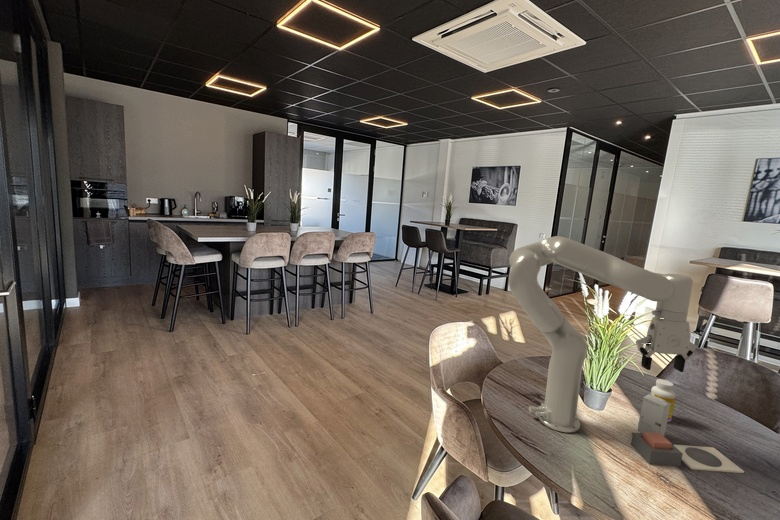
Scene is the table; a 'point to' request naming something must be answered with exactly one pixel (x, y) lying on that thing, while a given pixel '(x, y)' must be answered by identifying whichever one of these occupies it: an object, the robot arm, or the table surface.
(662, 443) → the button
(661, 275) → the robot arm
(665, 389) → the supplement bottle
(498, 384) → the table surface
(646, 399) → the skincare box
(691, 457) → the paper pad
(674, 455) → the button housing
